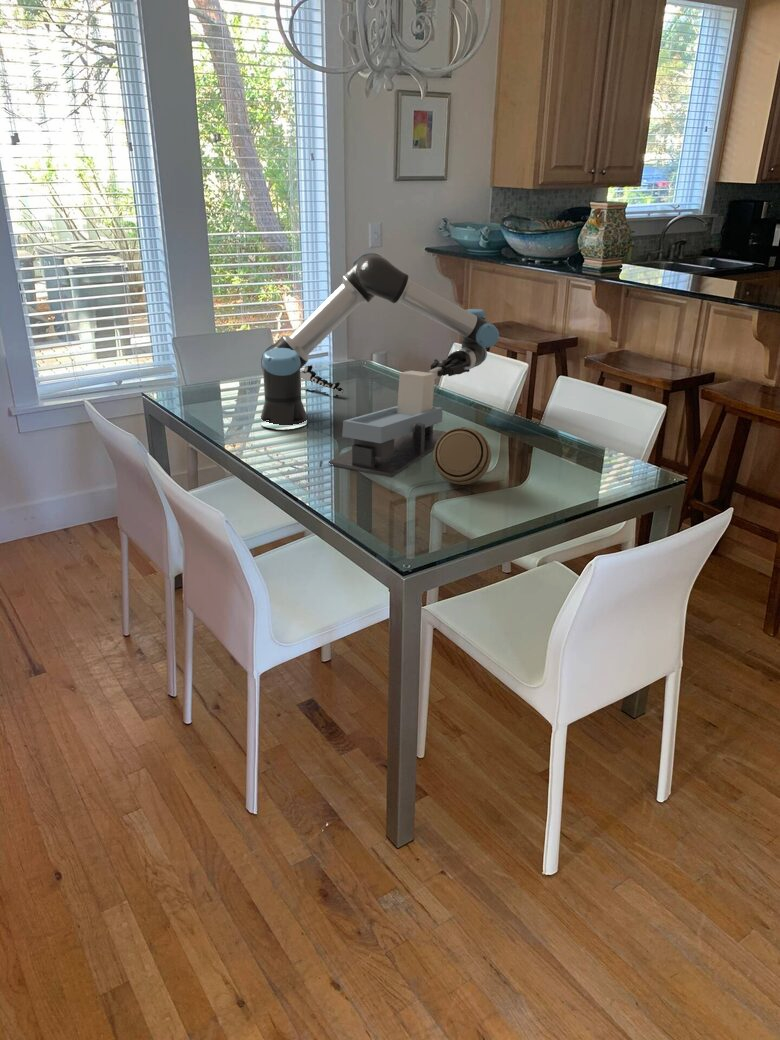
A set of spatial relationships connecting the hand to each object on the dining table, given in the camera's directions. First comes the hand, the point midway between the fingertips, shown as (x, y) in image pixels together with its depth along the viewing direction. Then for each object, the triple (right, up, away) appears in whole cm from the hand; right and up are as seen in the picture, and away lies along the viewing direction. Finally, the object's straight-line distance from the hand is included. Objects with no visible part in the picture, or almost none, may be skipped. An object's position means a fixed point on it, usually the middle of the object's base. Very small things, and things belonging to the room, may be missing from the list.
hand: (430, 375), depth 245 cm
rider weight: (-5, -12, -5) cm, 14 cm away
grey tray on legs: (-11, -23, -13) cm, 29 cm away
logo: (-38, +2, +47) cm, 61 cm away
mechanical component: (+6, -35, -36) cm, 51 cm away
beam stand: (-11, -24, -12) cm, 29 cm away
